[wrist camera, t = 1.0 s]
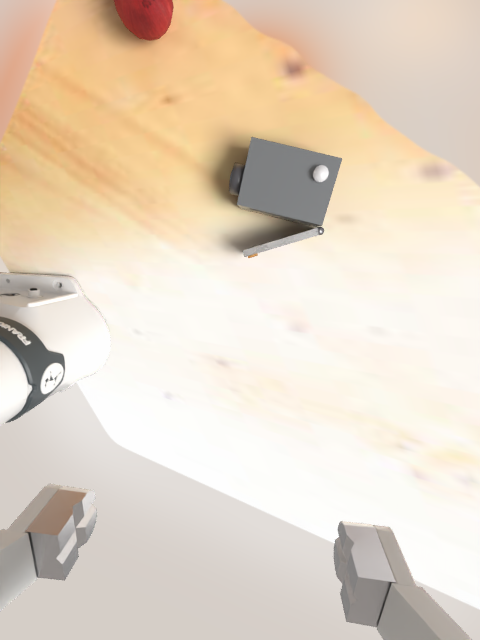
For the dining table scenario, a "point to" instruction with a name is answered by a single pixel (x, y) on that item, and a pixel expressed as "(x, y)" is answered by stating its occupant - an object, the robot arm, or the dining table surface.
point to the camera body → (285, 182)
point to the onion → (145, 17)
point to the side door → (282, 242)
